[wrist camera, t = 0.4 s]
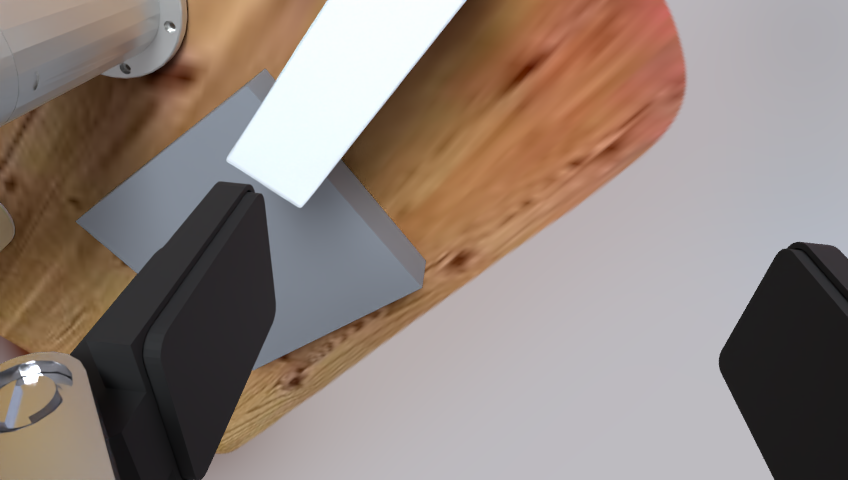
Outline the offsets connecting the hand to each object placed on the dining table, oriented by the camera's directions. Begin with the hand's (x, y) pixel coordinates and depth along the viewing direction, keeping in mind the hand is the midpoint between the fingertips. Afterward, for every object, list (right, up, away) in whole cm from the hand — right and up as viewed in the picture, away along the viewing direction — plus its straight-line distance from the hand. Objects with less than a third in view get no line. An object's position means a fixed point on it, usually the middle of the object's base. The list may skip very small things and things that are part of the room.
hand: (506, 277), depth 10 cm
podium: (-17, +2, +40) cm, 44 cm away
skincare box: (-3, +19, +27) cm, 33 cm away
